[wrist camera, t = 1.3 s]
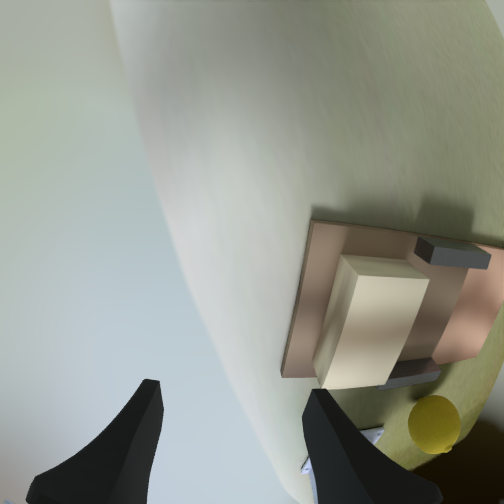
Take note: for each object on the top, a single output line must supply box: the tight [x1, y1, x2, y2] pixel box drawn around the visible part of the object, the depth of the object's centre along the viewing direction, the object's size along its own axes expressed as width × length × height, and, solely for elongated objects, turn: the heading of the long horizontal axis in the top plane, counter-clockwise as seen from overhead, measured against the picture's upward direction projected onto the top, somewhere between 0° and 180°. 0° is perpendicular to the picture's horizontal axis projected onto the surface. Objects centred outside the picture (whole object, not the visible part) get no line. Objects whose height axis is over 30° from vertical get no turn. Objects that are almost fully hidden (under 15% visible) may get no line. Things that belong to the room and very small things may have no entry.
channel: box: [375, 236, 492, 390], centre depth 18 cm, size 12×6×2 cm, turn 174°
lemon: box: [408, 395, 461, 454], centre depth 21 cm, size 6×6×8 cm
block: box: [312, 254, 430, 390], centre depth 17 cm, size 8×5×3 cm, turn 174°
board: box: [281, 219, 504, 378], centre depth 20 cm, size 12×22×1 cm, turn 84°
